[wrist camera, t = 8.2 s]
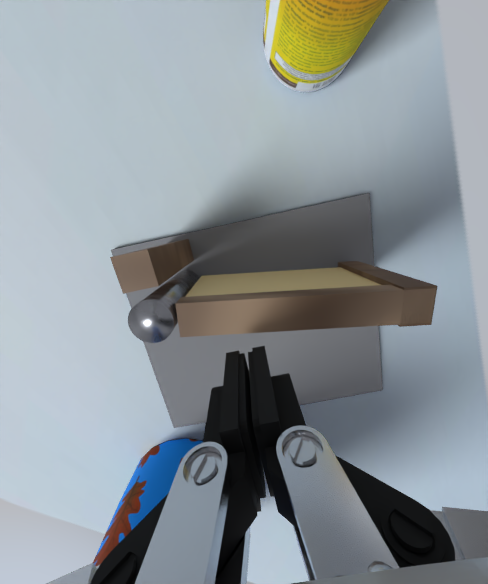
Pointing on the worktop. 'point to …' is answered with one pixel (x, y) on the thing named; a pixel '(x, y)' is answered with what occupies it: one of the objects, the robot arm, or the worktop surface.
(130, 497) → the thermos
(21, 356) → the worktop surface
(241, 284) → the gate
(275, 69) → the supplement bottle
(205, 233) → the gate frame
